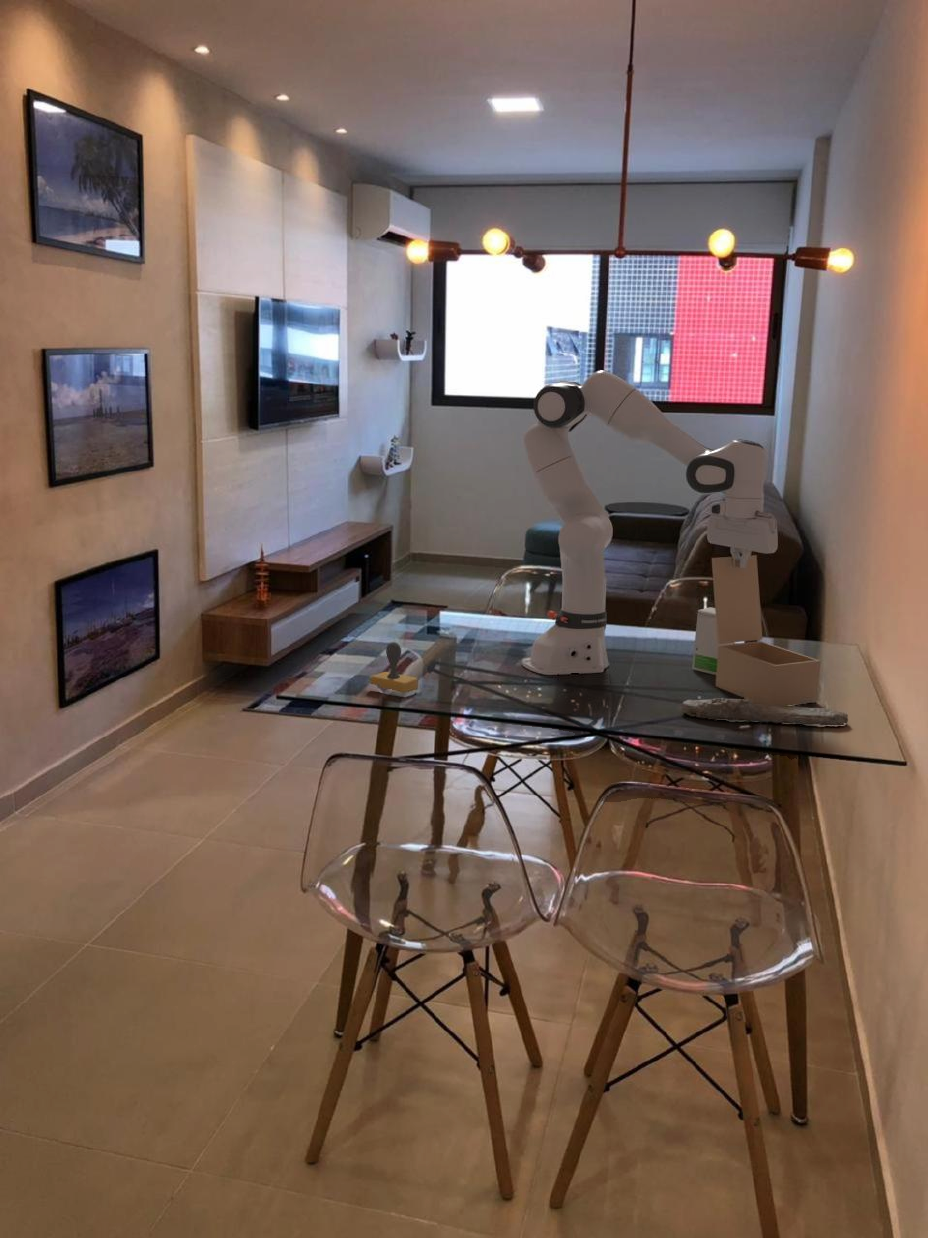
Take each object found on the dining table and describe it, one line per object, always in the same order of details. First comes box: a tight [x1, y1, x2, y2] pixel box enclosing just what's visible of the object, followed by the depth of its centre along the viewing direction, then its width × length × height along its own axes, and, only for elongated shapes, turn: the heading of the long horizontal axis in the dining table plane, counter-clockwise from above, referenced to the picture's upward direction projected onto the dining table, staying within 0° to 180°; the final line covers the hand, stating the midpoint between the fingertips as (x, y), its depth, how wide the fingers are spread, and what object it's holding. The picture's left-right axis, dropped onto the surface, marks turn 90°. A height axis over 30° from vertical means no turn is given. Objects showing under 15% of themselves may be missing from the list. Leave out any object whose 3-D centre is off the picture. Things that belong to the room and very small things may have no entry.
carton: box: [715, 640, 821, 706], centre depth 250 cm, size 13×20×10 cm, turn 25°
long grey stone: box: [681, 697, 849, 725], centre depth 231 cm, size 35×5×10 cm
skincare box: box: [691, 606, 736, 676], centre depth 269 cm, size 8×7×16 cm
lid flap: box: [711, 554, 763, 644], centre depth 257 cm, size 13×20×1 cm
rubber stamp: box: [369, 641, 419, 693], centre depth 246 cm, size 10×6×12 cm, turn 56°
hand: (739, 567), depth 255 cm, fingers closed
